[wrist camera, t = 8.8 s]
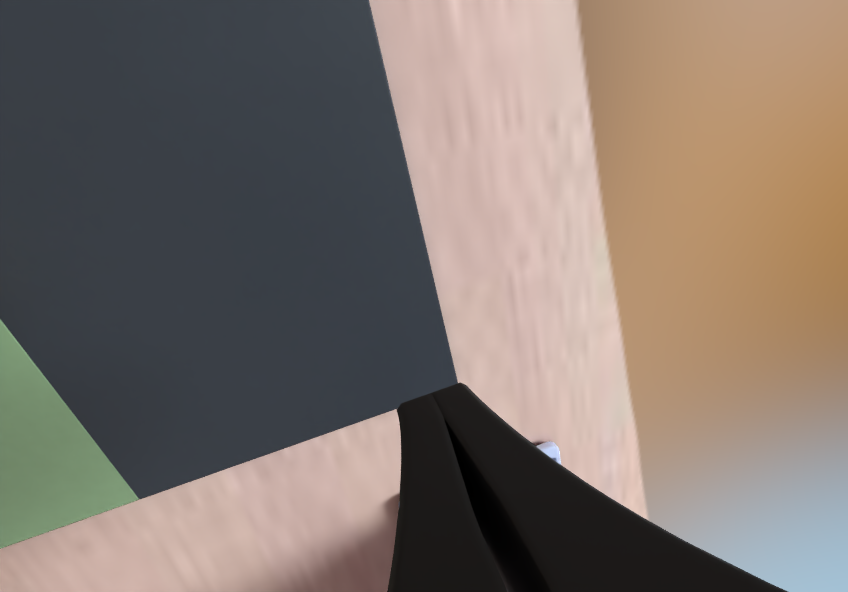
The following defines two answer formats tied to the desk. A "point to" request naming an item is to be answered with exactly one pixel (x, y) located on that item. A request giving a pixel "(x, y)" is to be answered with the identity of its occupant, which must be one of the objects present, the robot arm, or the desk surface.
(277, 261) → the desk mat
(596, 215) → the desk surface
